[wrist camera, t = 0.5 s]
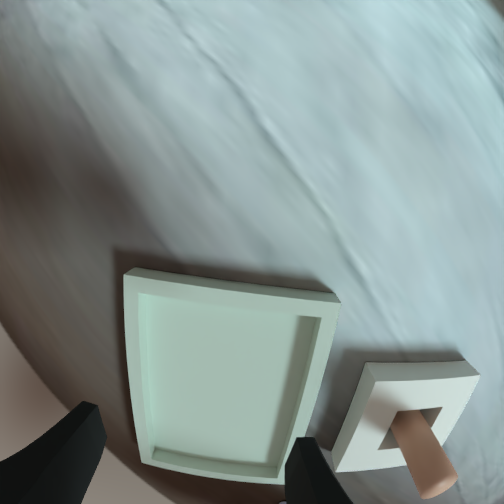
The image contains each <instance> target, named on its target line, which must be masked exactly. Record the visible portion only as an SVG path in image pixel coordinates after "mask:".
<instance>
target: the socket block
mask: <svg viewBox="0 0 504 504" xmlns="http://www.w3.org/2000/svg"><path fill="white" fill-rule="evenodd" d="M480 376H481V375H480V374H479V373H478V372H477V371H476V370H475V369H474V368H473V367H472V366H471V365H470V364H469V363H468V362H467V361H466V360H465V361H447V362H415V363H379V362H365V366H364V369H363V372H362V375H361V377H360V380H359V383H358V386H357V389H356V392H355V394H354V397H353V400H352V402H351V405H350V408H349V410H348V413H347V415H346V418H345V420H344V423H343V425H342V428H341V430H340V433H339V435H338V437H337V440H336V442H335V444H334V447H333V449H332V451H331V455H332V459H333V464H334V469H335V472H349V471H362V470H373V469H382V468H389V467H397V466H403V465H407V464H406V461H405V459H404V457H403V455H402V452H401V450H400V448H399V446H398V443H397V441H396V439H395V437H394V435H393V432H392V430H391V429H389V427H390V425H391V423H392V421H393V419H394V417H395V415H396V413H397V411H406V410H418V409H421V413H422V415H423V416H424V418H425V420H426V421H427V423H428V425H429V426H430V428H431V430H432V431H433V433H434V435H435V436H436V438H437V440H438V441H439V443H440V445H441V447H442V445H443V443H444V442H445V440H446V439H447V437H448V435H449V434H450V432H451V431H452V429H453V427H454V426H455V424H456V422H457V420H458V419H459V417H460V415H461V413H462V411H463V410H464V408H465V406H466V404H467V402H468V400H469V398H470V396H471V394H472V392H473V390H474V388H475V386H476V384H477V382H478V380H479V378H480Z"/></svg>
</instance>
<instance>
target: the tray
mask: <svg viewBox="0 0 504 504" xmlns="http://www.w3.org/2000/svg"><path fill="white" fill-rule="evenodd" d="M340 307H341V302H340V300H339V299H338V297H337V296H336V294H335V293H330V292H320V291H311V290H302V289H294V288H285V287H277V286H268V285H260V284H252V283H244V282H236V281H229V280H221V279H214V278H206V277H199V276H192V275H185V274H178V273H171V272H164V271H158V270H151V269H144V268H138V267H134V268H133V269H131V270H130V271H128V272H127V273H125V274H124V321H125V339H126V353H127V365H128V376H129V385H130V394H131V402H132V409H133V416H134V423H135V429H136V435H137V441H138V446H139V452H140V457H141V462H142V463H145V464H148V465H152V466H156V467H160V468H164V469H169V470H173V471H178V472H182V473H187V474H193V475H198V476H204V477H210V478H217V479H224V480H232V481H241V482H251V483H264V484H284V485H285V480H284V475H285V463H286V461H287V459H288V456H289V454H290V452H291V449H292V447H293V445H294V442H295V440H296V437H304V436H305V433H306V430H307V427H308V424H309V421H310V418H311V415H312V412H313V408H314V405H315V402H316V399H317V395H318V392H319V389H320V385H321V382H322V378H323V375H324V371H325V368H326V364H327V360H328V356H329V353H330V349H331V345H332V341H333V337H334V333H335V329H336V325H337V320H338V316H339V312H340Z"/></svg>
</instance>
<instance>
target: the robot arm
mask: <svg viewBox="0 0 504 504" xmlns="http://www.w3.org/2000/svg"><path fill="white" fill-rule="evenodd" d="M106 439H107V435H106V432H105V429H104V426H103V423H102V419H101V416H100V412H99V409H98V405H95V404H92V403H89V402H86V401H82V402H81V403H80V404H79V405H78V406H76V407H75V408H74V409H73V410H72V411H71V412H70V413H68V414H67V415H66V416H65V417H64V418H63V419H61V420H60V421H59V422H58V423H57V424H56V425H55V426H53V427H52V428H51V429H49V430H48V431H47V432H46V433H44V434H43V435H42V436H41V437H39V438H38V439H36V440H35V441H34V442H32V443H31V444H29V445H28V446H27V447H25V448H24V449H22V450H20V451H19V452H17V453H16V454H14V455H12V456H10V457H9V458H7V459H5V460H3V461H0V504H81V503H82V500H83V498H84V495H85V493H86V491H87V488H88V486H89V484H90V482H91V479H92V477H93V475H94V473H95V470H96V468H97V465H98V464H99V461H100V459H101V455H102V453H103V449H104V446H105V442H106ZM284 480H285V496H286V502H280V503H279V504H353V502H352V501H351V500H350V498H349V497H348V495H347V494H346V493H345V491H344V490H343V488H342V487H341V485H340V483H339V482H338V480H337V479H336V477H335V476H334V474H333V472H332V470H331V469H330V467H329V465H328V463H327V462H326V460H325V458H324V456H323V454H322V452H321V450H320V448H319V446H318V444H317V442H316V440H315V438H314V437H296V440H295V442H294V445H293V447H292V449H291V452H290V454H289V456H288V459H287V461H286V463H285V475H284Z"/></svg>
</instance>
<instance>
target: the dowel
mask: <svg viewBox="0 0 504 504" xmlns="http://www.w3.org/2000/svg"><path fill="white" fill-rule="evenodd" d="M390 428H391V430H392V432H393V435H394V437H395V439H396V441H397V443H398V446H399V448H400V450H401V452H402V455H403V457H404V459H405V461H406V464H407V466H408V468H409V471H410V473H411V475H412V478H413V480H414V482H415V485H416V487H417V489H418V492H419V494H420V497H421V498H422V499H428V498H432V497H435V496H437V495H439V494H441V493H443V492H444V491H446V490H447V489H448V488H450V487H451V486H452V485H453V484H454V483H455V482H456V480H457V478H458V475H457V473H456V471H455V469H454V468H453V466H452V464H451V462H450V461H449V459H448V457H447V455H446V454H445V452H444V450H443V448H442V447H441V445H440V443H439V441H438V440H437V438H436V436H435V435H434V433H433V431H432V430H431V428H430V426H429V425H428V423H427V421H426V420H425V418H424V416H423V415H422V413H421V411H420V410H419V409H418V410H406V411H397V413H396V415H395V417H394V419H393V421H392V423H391V425H390Z"/></svg>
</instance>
